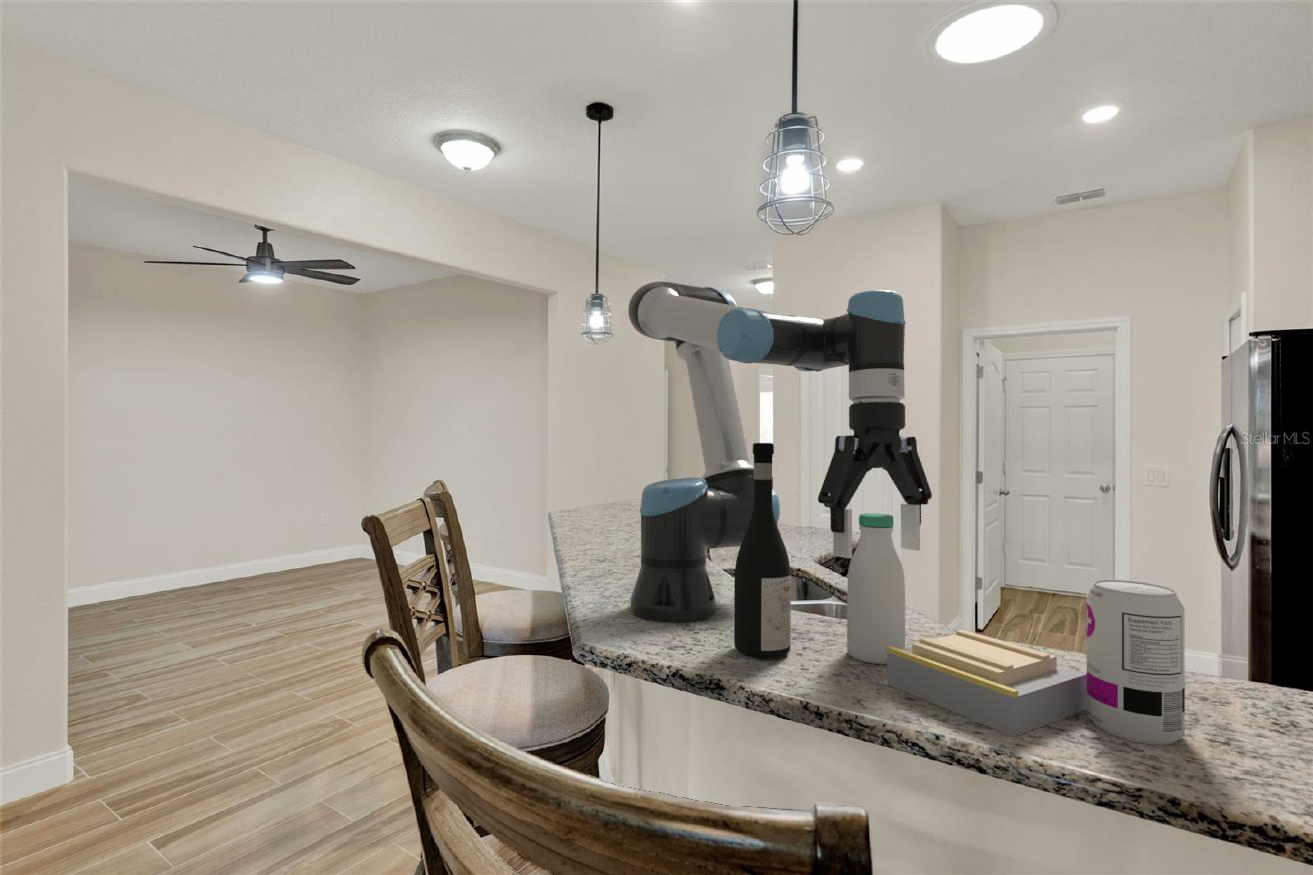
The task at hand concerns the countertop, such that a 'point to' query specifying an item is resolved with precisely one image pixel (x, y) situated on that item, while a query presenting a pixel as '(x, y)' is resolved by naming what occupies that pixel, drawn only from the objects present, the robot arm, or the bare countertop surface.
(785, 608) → the wine bottle
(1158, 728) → the supplement can
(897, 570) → the milk bottle
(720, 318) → the robot arm
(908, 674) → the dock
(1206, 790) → the countertop surface
